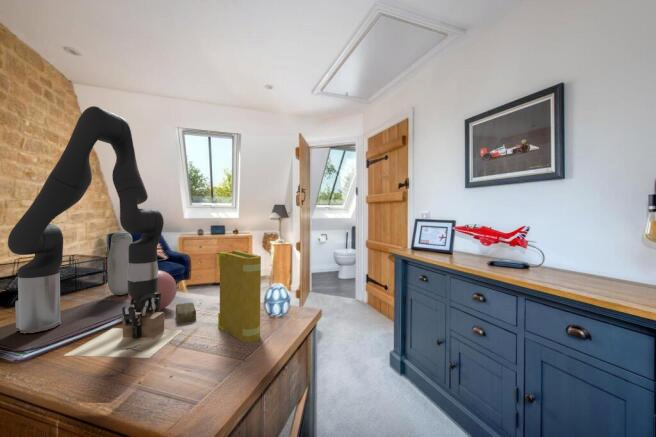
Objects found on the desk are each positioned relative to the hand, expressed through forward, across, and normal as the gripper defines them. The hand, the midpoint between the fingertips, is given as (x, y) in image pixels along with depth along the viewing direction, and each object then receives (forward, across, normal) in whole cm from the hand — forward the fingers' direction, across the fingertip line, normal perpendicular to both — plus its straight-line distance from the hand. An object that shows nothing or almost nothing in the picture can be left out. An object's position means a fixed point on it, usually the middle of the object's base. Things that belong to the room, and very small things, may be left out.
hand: (143, 333), depth 83 cm
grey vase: (+2, -41, -37) cm, 55 cm away
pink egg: (+2, -24, -13) cm, 27 cm away
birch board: (+2, +4, -1) cm, 5 cm away
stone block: (+2, -15, +5) cm, 16 cm away
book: (+2, -7, +27) cm, 28 cm away
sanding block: (0, 0, 0) cm, 1 cm away
